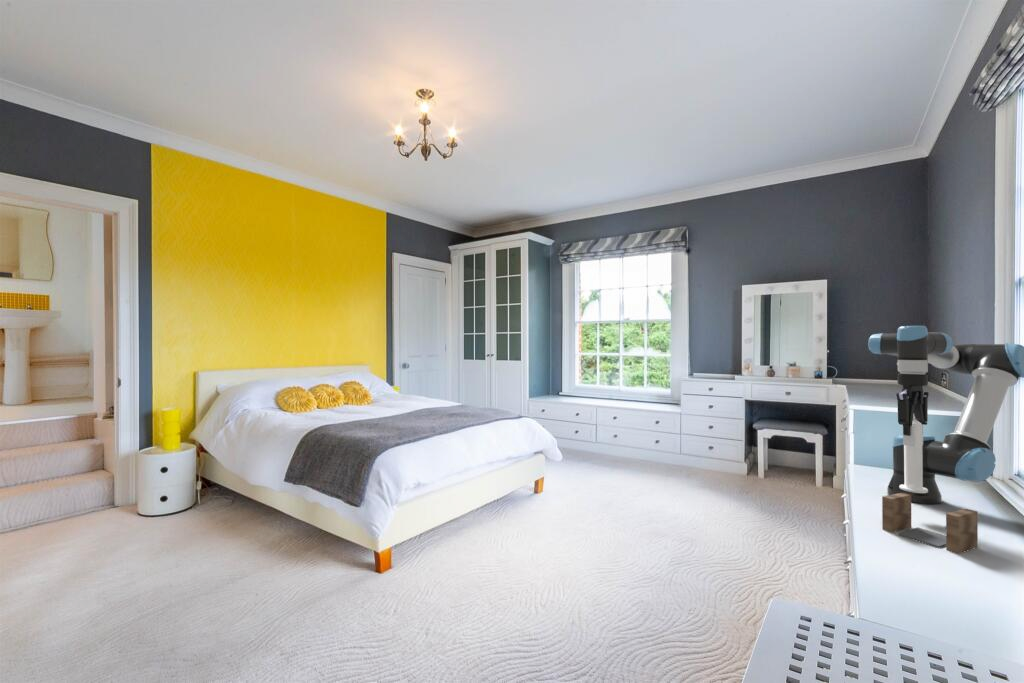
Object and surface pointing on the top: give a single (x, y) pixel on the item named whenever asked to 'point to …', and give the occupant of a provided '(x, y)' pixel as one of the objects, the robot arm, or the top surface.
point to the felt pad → (925, 536)
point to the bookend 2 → (961, 530)
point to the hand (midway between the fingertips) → (913, 444)
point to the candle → (914, 462)
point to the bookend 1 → (896, 512)
